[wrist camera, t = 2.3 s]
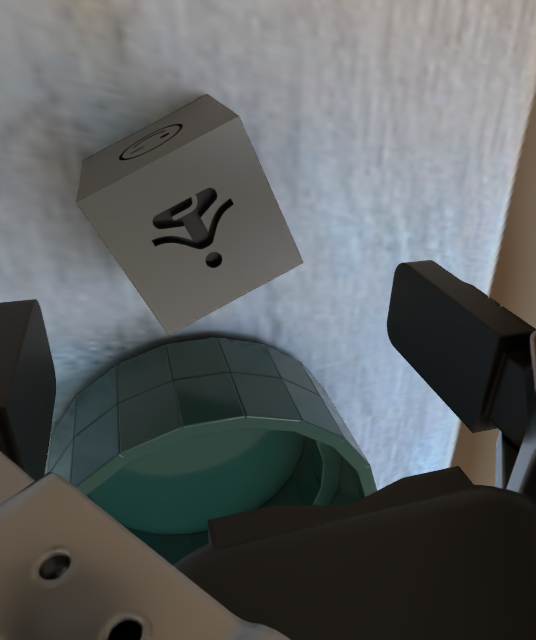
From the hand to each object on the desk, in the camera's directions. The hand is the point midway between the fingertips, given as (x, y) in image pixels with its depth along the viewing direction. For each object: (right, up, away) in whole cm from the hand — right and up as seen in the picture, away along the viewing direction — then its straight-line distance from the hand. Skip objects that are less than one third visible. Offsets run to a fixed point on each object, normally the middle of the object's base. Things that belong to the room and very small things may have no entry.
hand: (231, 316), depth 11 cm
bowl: (-3, -7, +15) cm, 16 cm away
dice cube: (-3, +5, +8) cm, 10 cm away
